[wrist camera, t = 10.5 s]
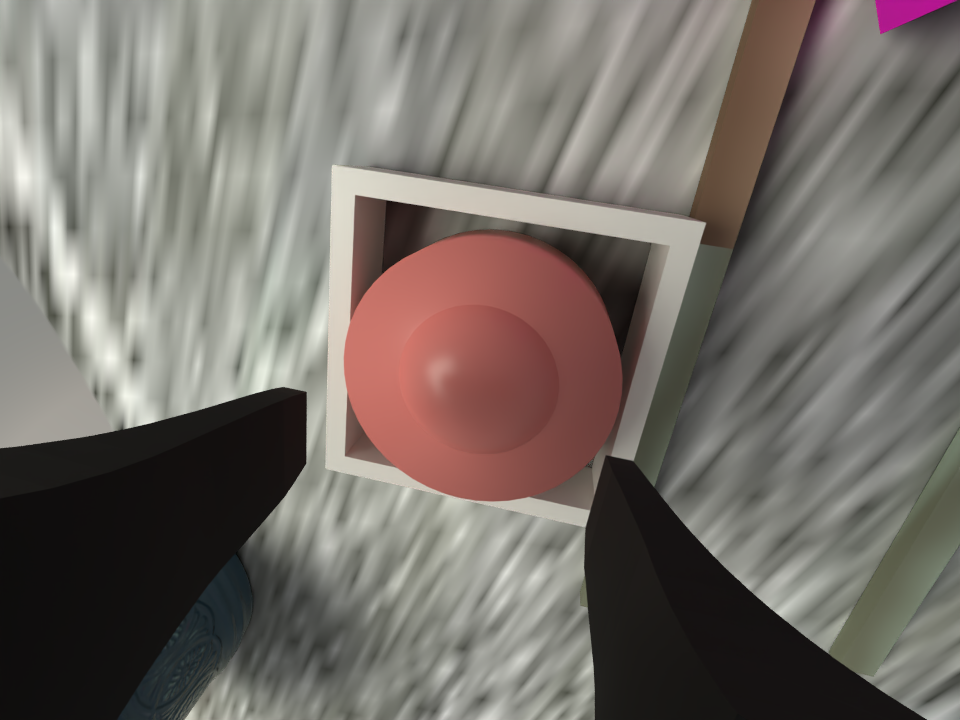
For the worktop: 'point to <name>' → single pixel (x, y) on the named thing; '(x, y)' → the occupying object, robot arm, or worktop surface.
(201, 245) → the worktop surface
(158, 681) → the canister
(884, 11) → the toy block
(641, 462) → the game lane
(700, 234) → the white square frame
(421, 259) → the dome
